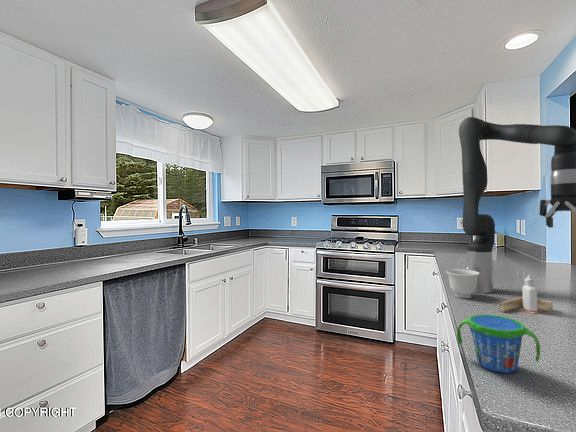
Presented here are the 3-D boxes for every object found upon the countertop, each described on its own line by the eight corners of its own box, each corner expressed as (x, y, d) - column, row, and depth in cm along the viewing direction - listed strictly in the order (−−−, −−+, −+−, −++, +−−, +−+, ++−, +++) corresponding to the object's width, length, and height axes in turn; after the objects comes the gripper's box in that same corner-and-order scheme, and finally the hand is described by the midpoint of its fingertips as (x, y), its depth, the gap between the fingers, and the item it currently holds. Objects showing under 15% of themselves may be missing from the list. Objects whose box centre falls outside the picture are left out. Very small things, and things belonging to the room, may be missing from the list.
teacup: (467, 290, 132) (467, 267, 132) (486, 300, 117) (486, 274, 117) (439, 290, 133) (438, 268, 133) (454, 300, 119) (453, 275, 118)
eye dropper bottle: (539, 308, 106) (538, 274, 106) (536, 312, 102) (536, 277, 102) (523, 306, 109) (522, 273, 109) (520, 310, 105) (520, 275, 105)
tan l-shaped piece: (499, 311, 105) (499, 302, 105) (523, 304, 112) (523, 296, 112) (528, 319, 97) (528, 309, 97) (552, 310, 104) (552, 301, 104)
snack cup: (451, 362, 71) (450, 319, 71) (466, 347, 78) (465, 308, 78) (536, 389, 60) (535, 338, 59) (544, 369, 67) (543, 324, 67)
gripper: (535, 184, 113) (536, 227, 113) (586, 180, 100) (587, 229, 100) (545, 184, 116) (546, 226, 116) (595, 180, 104) (596, 228, 104)
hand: (565, 227), depth 108 cm, fingers open, 8 cm apart
